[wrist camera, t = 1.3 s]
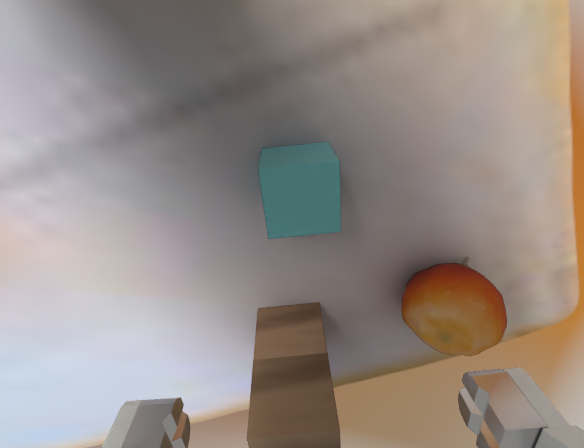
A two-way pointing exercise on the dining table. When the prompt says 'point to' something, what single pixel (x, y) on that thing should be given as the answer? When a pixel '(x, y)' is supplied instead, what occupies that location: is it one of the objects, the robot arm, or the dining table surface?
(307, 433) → the tower top
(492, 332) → the fruit
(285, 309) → the block
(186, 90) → the dining table surface
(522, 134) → the dining table surface
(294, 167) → the teal block
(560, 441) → the robot arm
